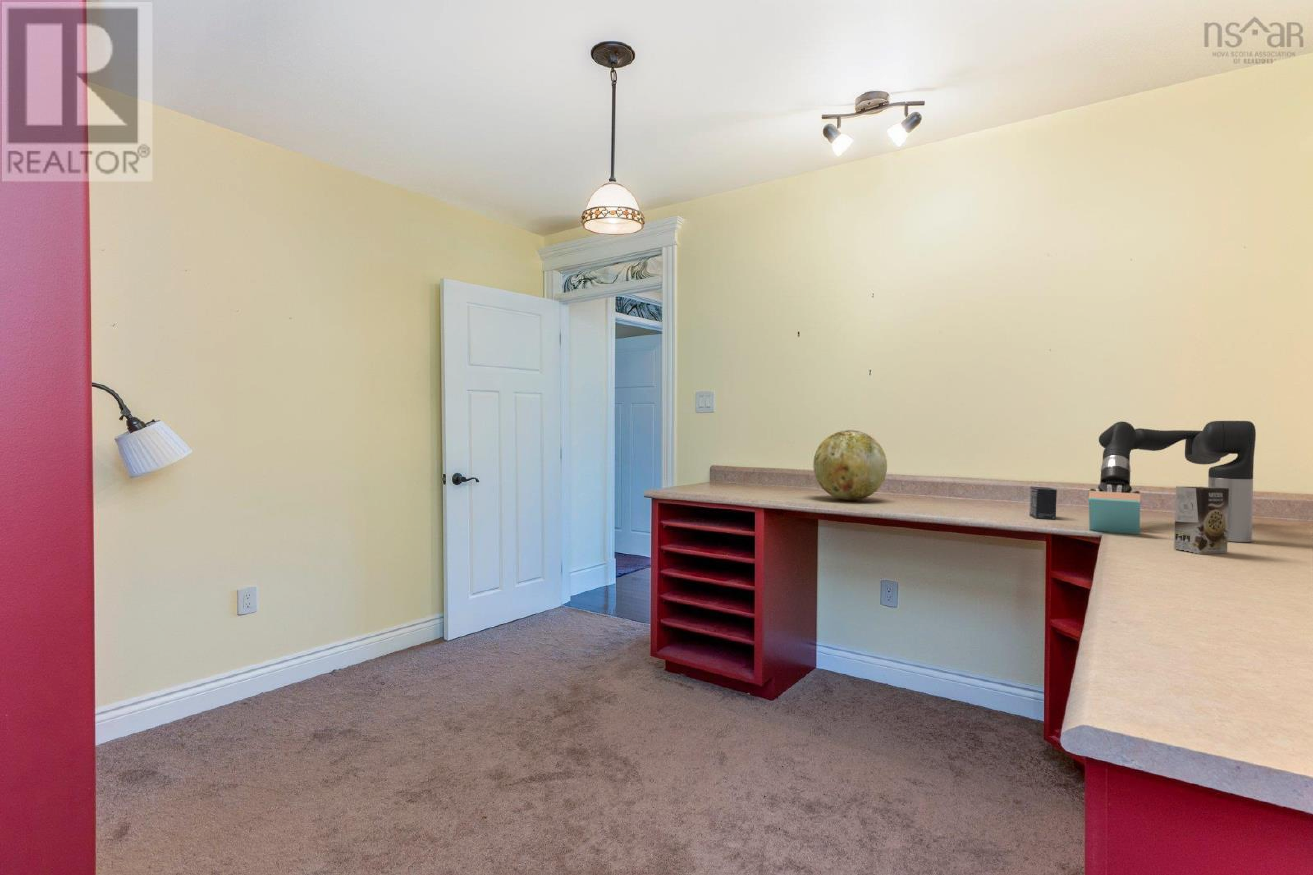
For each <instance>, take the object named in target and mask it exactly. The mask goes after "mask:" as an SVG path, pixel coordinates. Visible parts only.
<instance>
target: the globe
mask: <svg viewBox="0 0 1313 875" xmlns="http://www.w3.org/2000/svg"><path fill="white" fill-rule="evenodd" d="M812 468H813V474H814V477H815V479H816V481H817V483H818V485H819V486H820V488H822V489H823V491H824V492H825V493H827V494H829V495H830V496H832V497H833V498H835V499H838V500H842V501H847V502H848V501H851V502H852V501H860V500H863V499H866V498H868V497H870V496H871V495H873V494H875V493H876V492H877V491H878V489H879V488H880V487H881V486H882V484H883V483H884V481H885V479H886V476H887V470H888V460H887V456H886V454H885V451H884V449H883V448H882V446H881V444H880V443H879V442H878V441H877V440H876V439H875V438H873V437H872V436H871V435H869V434H867V433H865V432H863V431H859V430H852V429H851V430H850V429H848V430H840V431H837V432H835V433H832V434H831V435H829V436H827V437H826V438H824V440H823V441H822V442H821V443H819V446H818V447H817V450H816V451H815V453H814V457H813V466H812Z"/></svg>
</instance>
